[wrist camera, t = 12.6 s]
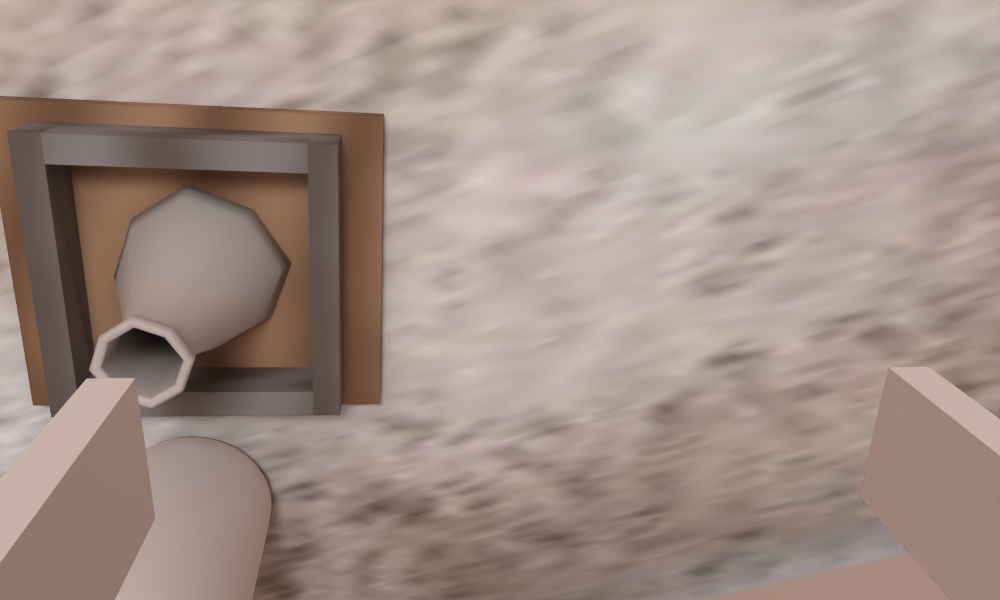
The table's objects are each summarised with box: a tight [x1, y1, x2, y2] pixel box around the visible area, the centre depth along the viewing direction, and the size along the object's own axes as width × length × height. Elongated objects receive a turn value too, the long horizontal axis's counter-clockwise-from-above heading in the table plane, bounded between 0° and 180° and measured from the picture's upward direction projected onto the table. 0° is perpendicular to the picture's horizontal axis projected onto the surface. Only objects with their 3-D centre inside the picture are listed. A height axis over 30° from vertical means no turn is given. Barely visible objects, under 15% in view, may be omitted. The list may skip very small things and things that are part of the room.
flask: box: [89, 185, 291, 409], centre depth 31 cm, size 7×7×10 cm
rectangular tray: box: [0, 96, 384, 417], centre depth 35 cm, size 16×14×4 cm
